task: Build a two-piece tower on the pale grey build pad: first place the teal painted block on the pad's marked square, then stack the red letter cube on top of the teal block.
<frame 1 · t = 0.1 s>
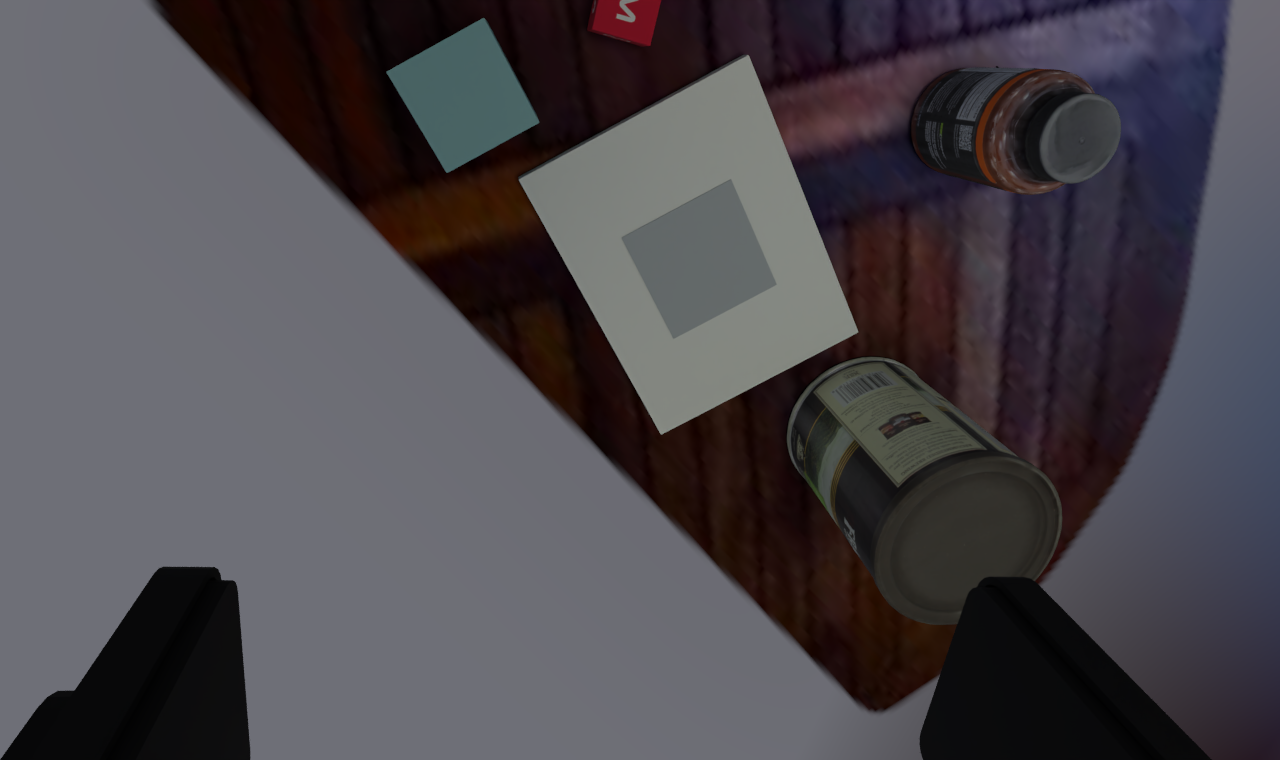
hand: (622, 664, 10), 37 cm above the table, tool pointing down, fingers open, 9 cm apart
supplement bottle: (952, 120, 46), on the table
coffee can: (858, 424, 53), on the table
teal block: (470, 91, 41), on the table
red letter cube: (620, 8, 41), on the table
build pad: (697, 257, 47), on the table
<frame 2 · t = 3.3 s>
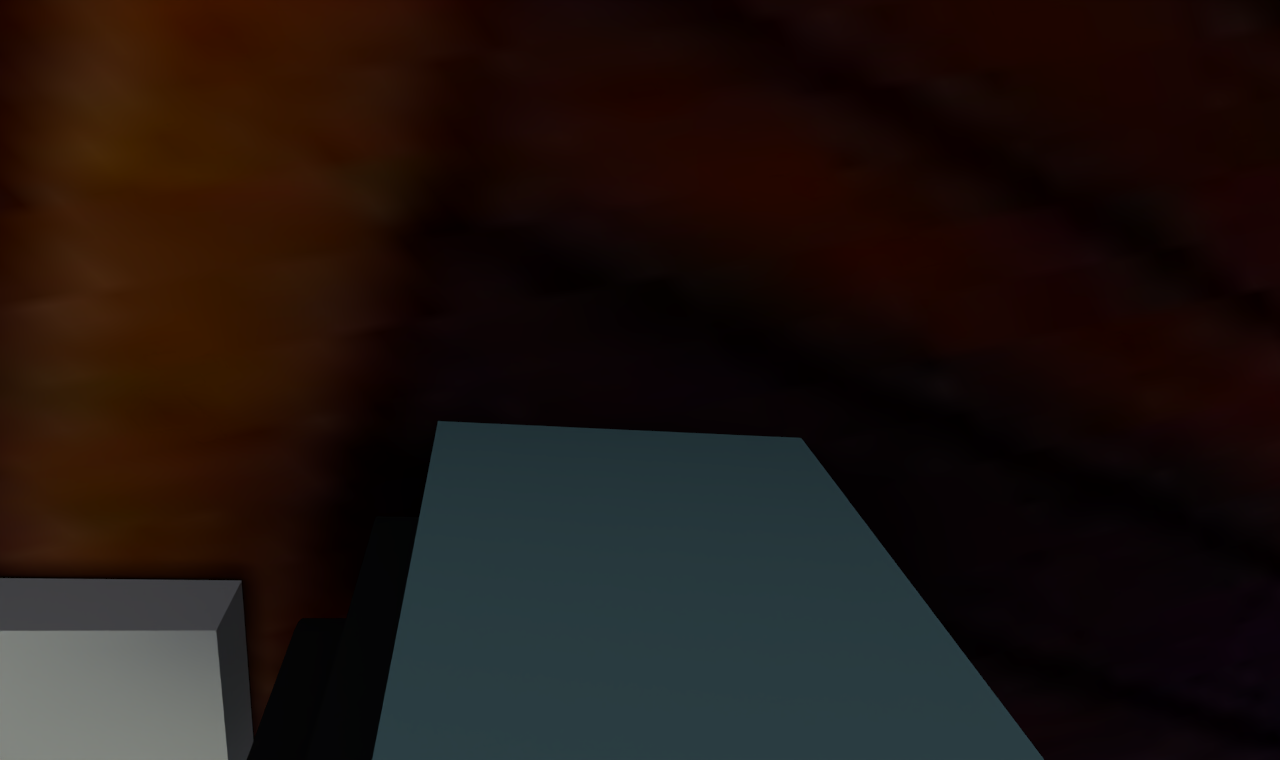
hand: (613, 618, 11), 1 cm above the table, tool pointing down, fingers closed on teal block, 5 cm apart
teal block: (607, 582, 12), on the table, touching gripper
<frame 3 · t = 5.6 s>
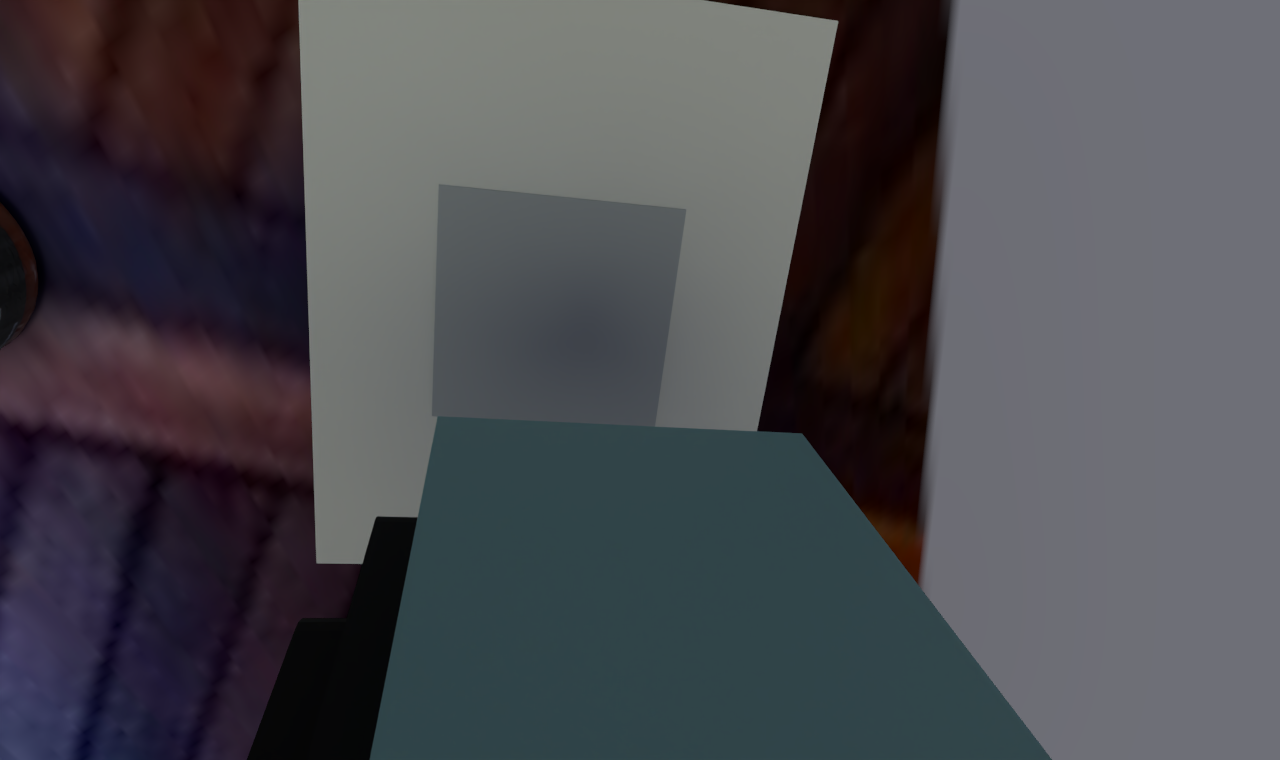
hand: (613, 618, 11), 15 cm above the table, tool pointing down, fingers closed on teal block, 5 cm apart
teal block: (607, 578, 12), point 14 cm above the table, touching gripper
build pad: (553, 305, 24), on the table
when the fingers open (3 cm above the table, at t = 8.1 s): teal block stays where it is, resting on build pad.
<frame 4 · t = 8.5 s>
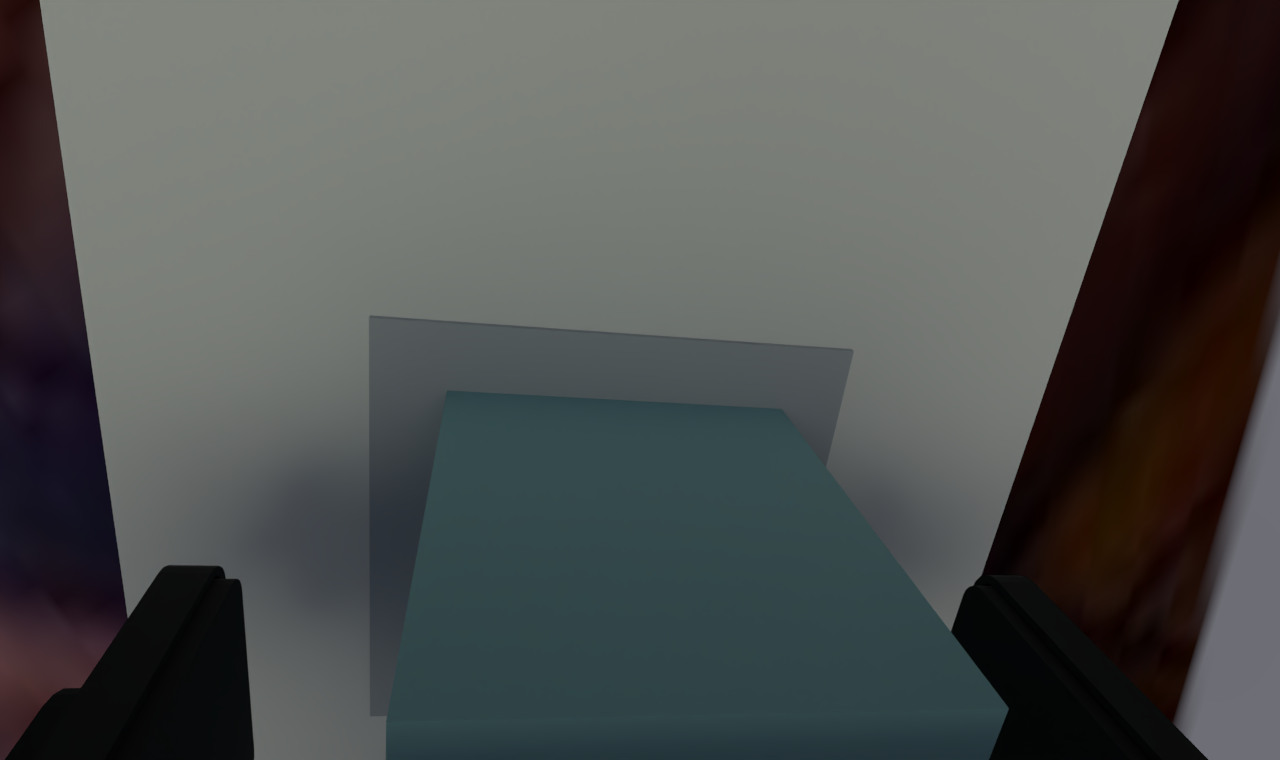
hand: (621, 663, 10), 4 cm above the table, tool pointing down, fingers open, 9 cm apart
teal block: (602, 543, 12), point 1 cm above the table, touching build pad
build pad: (592, 506, 13), on the table
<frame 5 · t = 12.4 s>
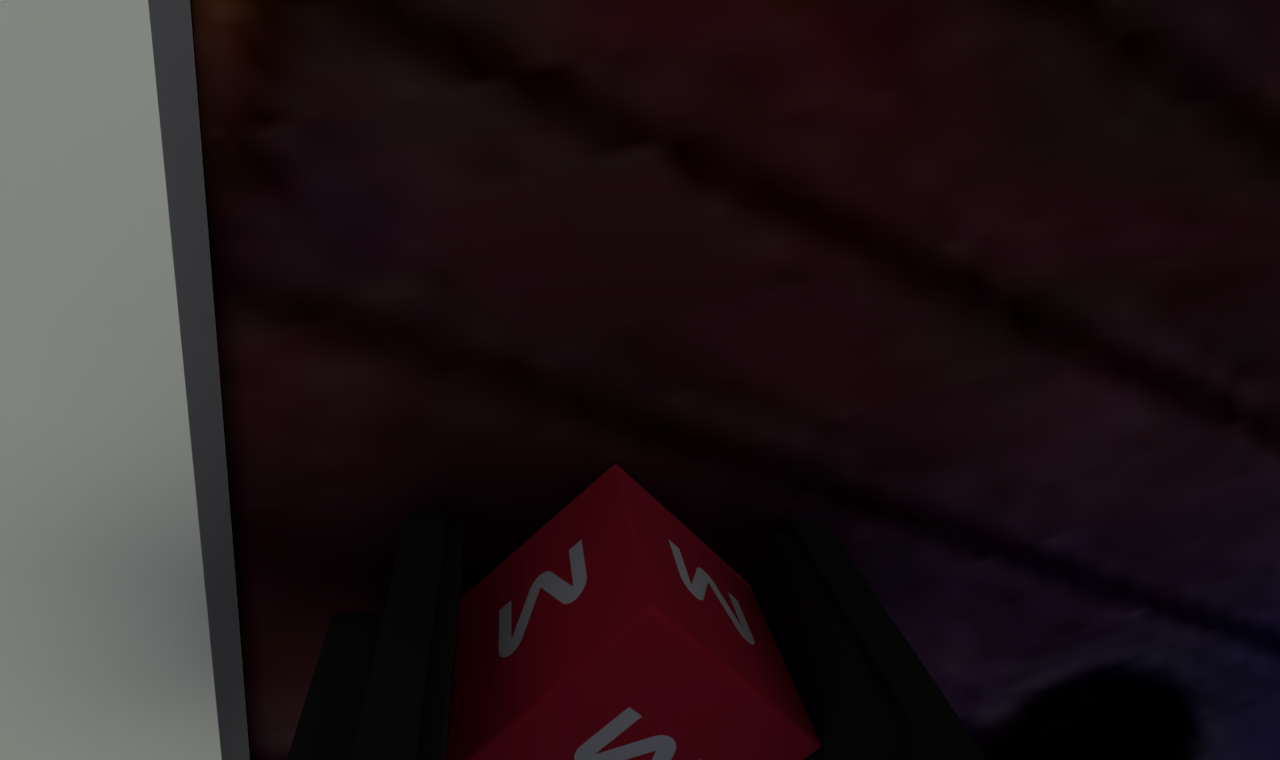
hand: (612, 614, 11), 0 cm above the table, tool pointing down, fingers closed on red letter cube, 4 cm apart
red letter cube: (607, 582, 12), on the table, touching gripper
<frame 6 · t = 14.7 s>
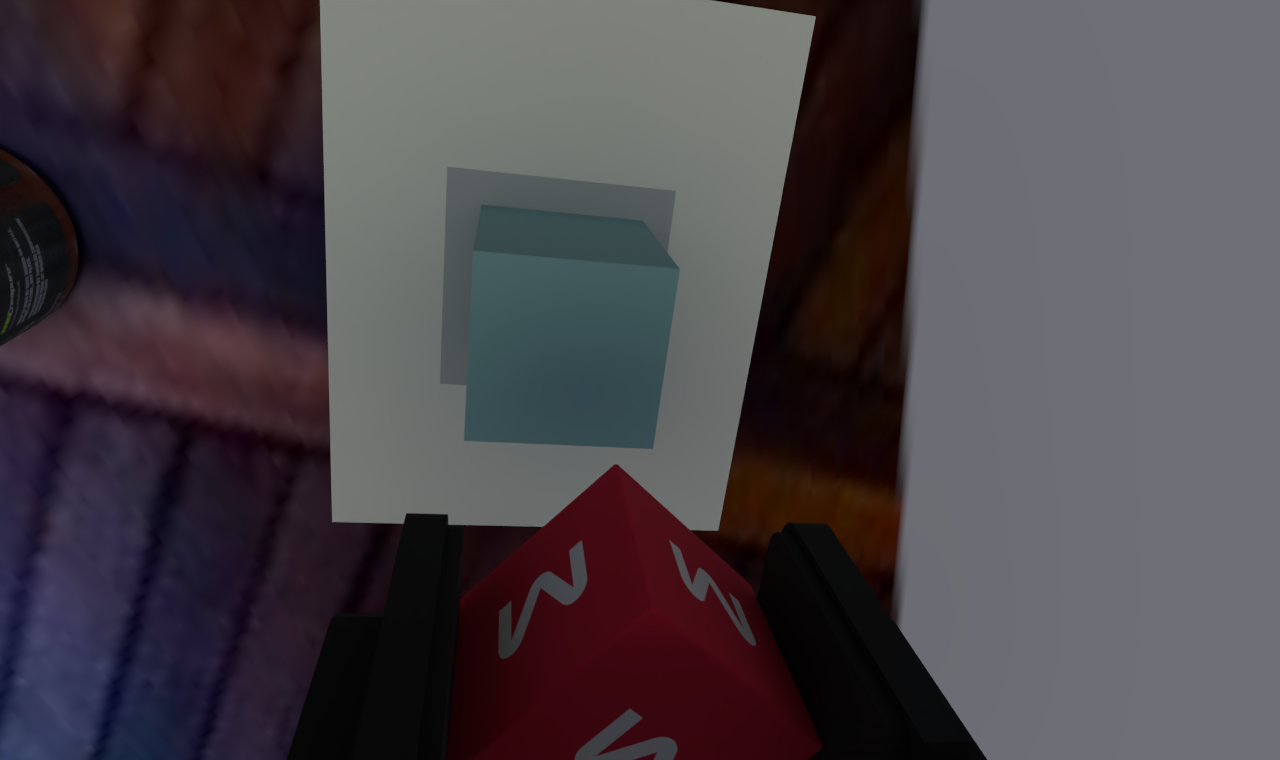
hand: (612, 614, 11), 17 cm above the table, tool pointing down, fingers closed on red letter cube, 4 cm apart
teal block: (556, 290, 25), point 1 cm above the table, touching build pad
red letter cube: (607, 583, 11), point 16 cm above the table, touching gripper
build pad: (553, 280, 26), on the table
when the fingers open (8 cm above the table, at t = 16.9 s): red letter cube stays where it is, resting on teal block.
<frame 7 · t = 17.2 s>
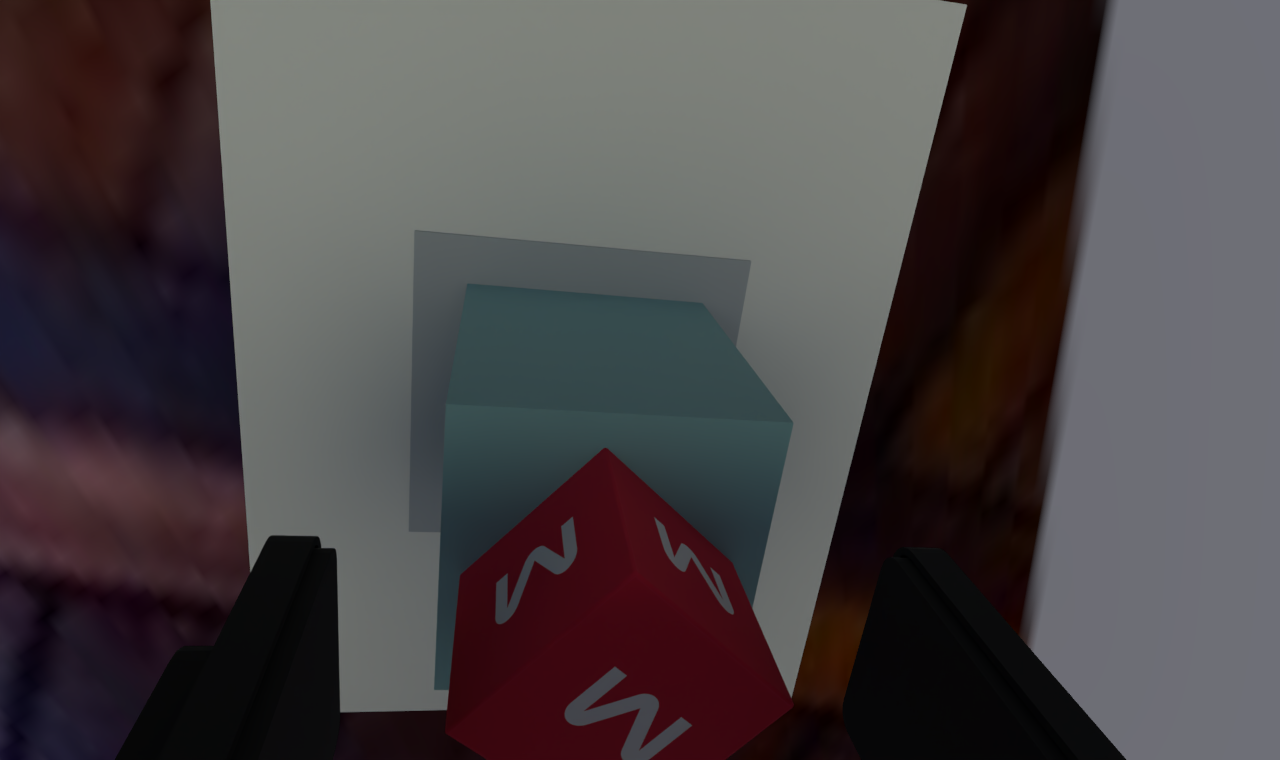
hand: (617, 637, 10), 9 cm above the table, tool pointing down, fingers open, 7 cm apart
teal block: (576, 401, 17), point 1 cm above the table, touching build pad, red letter cube
red letter cube: (598, 560, 12), point 7 cm above the table, touching teal block
build pad: (570, 382, 18), on the table
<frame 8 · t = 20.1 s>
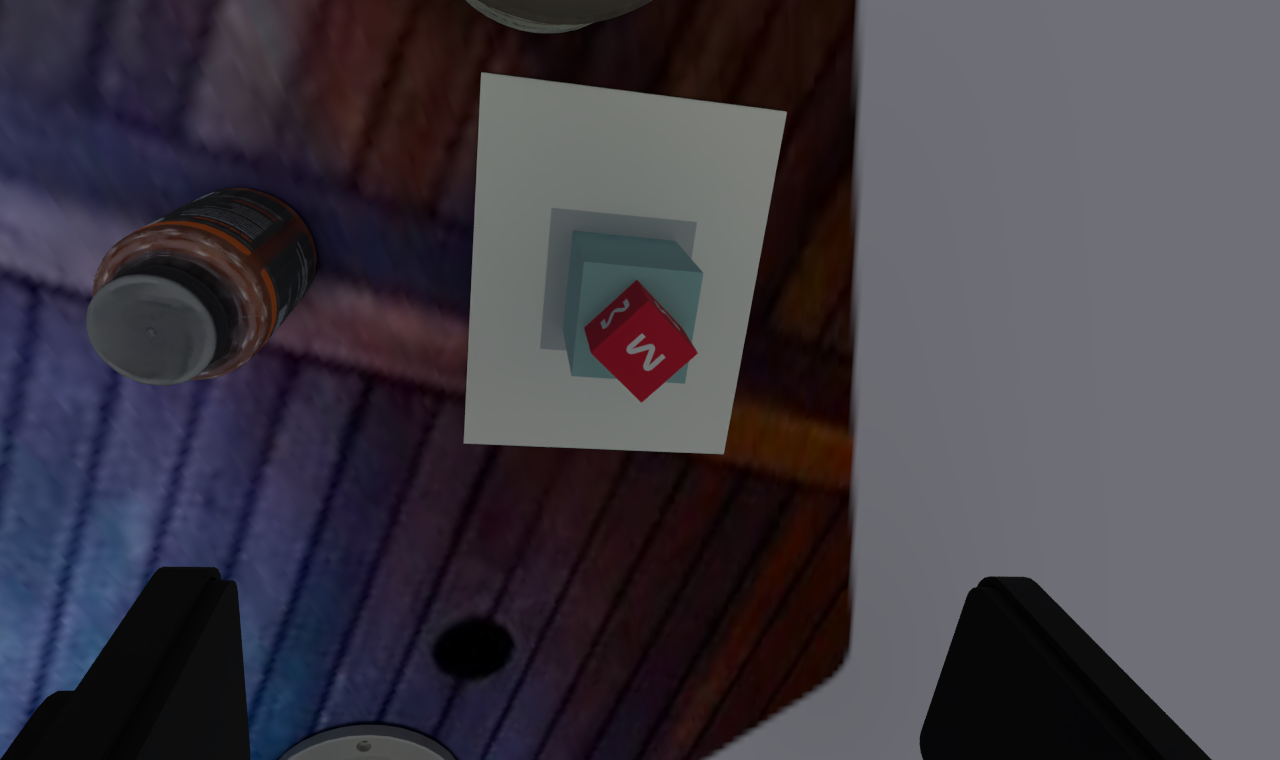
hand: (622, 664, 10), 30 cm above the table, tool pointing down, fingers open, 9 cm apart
supplement bottle: (253, 249, 36), on the table
teal block: (618, 286, 38), point 1 cm above the table, touching build pad, red letter cube
red letter cube: (633, 326, 33), point 7 cm above the table, touching teal block
build pad: (614, 280, 39), on the table
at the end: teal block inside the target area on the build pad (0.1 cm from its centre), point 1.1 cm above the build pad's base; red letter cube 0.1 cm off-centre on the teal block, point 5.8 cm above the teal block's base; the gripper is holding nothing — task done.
